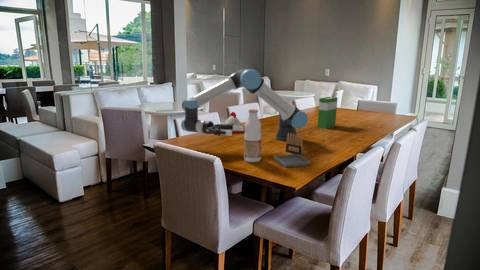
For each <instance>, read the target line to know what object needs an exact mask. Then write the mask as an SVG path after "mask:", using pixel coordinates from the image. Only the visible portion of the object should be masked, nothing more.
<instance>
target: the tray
mask: <svg viewBox="0 0 480 270" xmlns="http://www.w3.org/2000/svg"><path fill="white" fill-rule="evenodd" d="M273 160H274V161H275V162H276V163H278V164H279V165H281V166H283V167H284V168H286V169H287V168H294V167H304V166H311V161H310V160H309V159H307V158H305V157H304V156H302V155H299V154H295V153H290V154H282V155H280V154H279V155H273Z"/></svg>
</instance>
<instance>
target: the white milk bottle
mask: <svg viewBox="0 0 480 270" xmlns="http://www.w3.org/2000/svg"><path fill="white" fill-rule="evenodd" d="M258 113H259V109H255V108H254V109H253V108H252V109H249V110H248V114H249V115H248V116H247V117H248V118H247V120H246V121H245V123H244V130H245V131H244V135H243V136H244V137H243V160H244V161H245V162H247V163H257V162H260V161H261V159H262V133H261V130H262V123H261V121H260V120H259V117H258Z"/></svg>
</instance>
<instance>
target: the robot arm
mask: <svg viewBox="0 0 480 270" xmlns="http://www.w3.org/2000/svg"><path fill="white" fill-rule="evenodd" d="M239 88H243V89H245V90H246V91H247V92H249V93H250V94H251V95H256V96H258V97H259V98H260V99H261V100H262V101H264V102H265V103H267V105H269V106H270V107H271V108H273V110H275V112H277V113H278V128H277V130H276V134H275V139H276V140H279V141H284V142H285V141H286V142H287V136H288V132H289V138H290V134H291V133H292V138H293V133H294V135H296V134H297V130H300V129H303V128H305V127H306V125H307V124H308V119H309V117H308V115H307V113H306V112H305V111H302V110H300V109H299V108H298V107H297V106H296V105H295V104H290V103H288V102H287V101H286V100H285V99H284V98H283V97H281V96H280V95H279V93H277V92H276V91H274V90H273V89H272V88H271V87H270V86H269V85H267V84H266V83H265V79H264V78H263V77H262V76H261V74H260V72H258V71H257V70H256V69H252V68H241V69H239V70H236V72H234V73H231V74H230V75H228V76H227V78H226V79H224V80H222V81H220V82H218V83H216V84H215V85H212V86H210V87H209V88H207V89H204V90H203V91H201V92H199V93H197V94H196V95H194V96H191V97H189V98H187V99H183V100H182V102H181V107H182V110H183V111H184V114H185V115H184V116H185V117H184V118H183V119H182V120H181V123H180V127H181V129H182V130H183V131H185V132H188V133H189V132H190V133H198V134H199V133H200V134H201V135H203V134H204V135H206V134H207V135H214V136H218V137H221V136H229V137H232V136H233V133H232V131H229V130H237V131H242V132H244V126H243V125H241V126H235V125H234V124H225V123H223V124H222V123H221V124H220V123H218V124H215V123H214V122H213V121H211V120H203V119H202V120H201V119H199V114H198V113H199V108H200V107H202V106H203V105H206V104H208V103H209V102H211V101H213V100H215V99H217V98H219V97H221V96H222V95H224V94H226V93H228V92H230V91H232V90H234V91H235V90H236V91H237V90H238V89H239ZM297 135H298V134H297Z"/></svg>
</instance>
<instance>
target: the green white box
mask: <svg viewBox="0 0 480 270" xmlns="http://www.w3.org/2000/svg"><path fill="white" fill-rule="evenodd" d="M337 107H338V97H331V96H325V97H321V98H320V97H319V100H318V115H317V128H318V129H322V130H327V129H330V128H332V127H333V128H334V127H336V122H337V121H336V120H337V119H336V118H337Z"/></svg>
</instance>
